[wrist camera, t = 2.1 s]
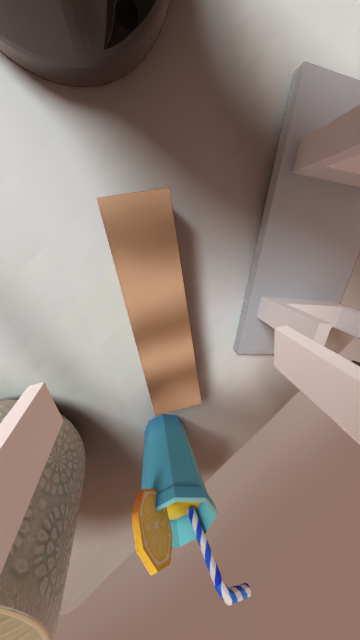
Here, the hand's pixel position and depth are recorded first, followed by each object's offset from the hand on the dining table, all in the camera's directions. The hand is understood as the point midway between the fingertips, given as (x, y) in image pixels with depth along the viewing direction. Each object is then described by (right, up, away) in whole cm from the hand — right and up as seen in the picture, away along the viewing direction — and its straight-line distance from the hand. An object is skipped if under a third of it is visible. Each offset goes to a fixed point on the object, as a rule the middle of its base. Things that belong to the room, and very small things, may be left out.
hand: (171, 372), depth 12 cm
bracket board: (+15, +11, +11) cm, 21 cm away
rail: (-2, +4, +11) cm, 12 cm away
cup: (-1, -12, +17) cm, 21 cm away
